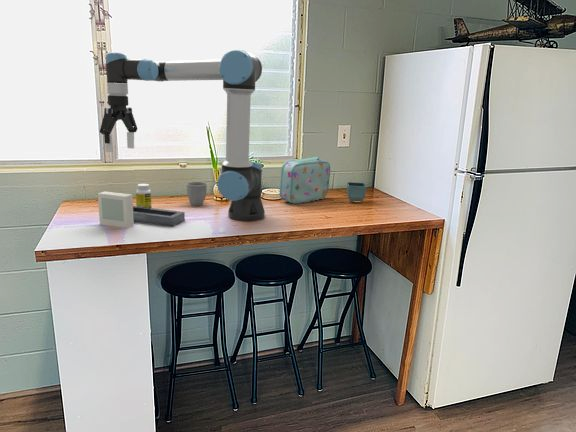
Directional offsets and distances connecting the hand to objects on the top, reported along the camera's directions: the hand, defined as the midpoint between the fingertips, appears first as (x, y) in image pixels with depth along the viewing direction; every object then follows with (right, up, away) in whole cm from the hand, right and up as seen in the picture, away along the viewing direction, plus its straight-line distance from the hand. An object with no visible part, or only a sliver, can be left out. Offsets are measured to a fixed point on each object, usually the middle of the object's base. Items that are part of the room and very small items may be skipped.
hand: (120, 150), depth 187 cm
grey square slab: (+2, -30, -9) cm, 31 cm away
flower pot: (+100, -20, +44) cm, 111 cm away
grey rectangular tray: (+13, -28, -1) cm, 31 cm away
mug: (+25, -21, +28) cm, 42 cm away
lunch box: (+75, -19, +42) cm, 88 cm away
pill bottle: (+6, -24, +13) cm, 28 cm away
